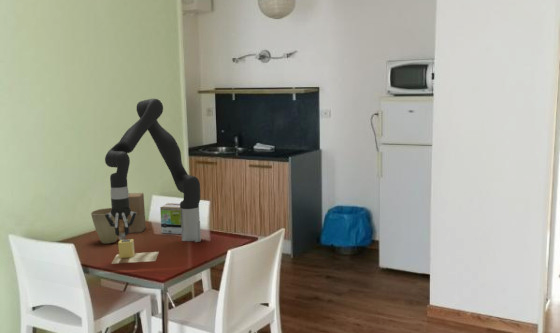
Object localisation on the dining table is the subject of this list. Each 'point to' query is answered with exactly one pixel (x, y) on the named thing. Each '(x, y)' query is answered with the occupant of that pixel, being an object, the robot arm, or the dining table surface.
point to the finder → (126, 248)
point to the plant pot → (104, 225)
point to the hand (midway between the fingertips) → (122, 235)
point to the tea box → (171, 218)
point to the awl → (121, 229)
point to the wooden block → (137, 206)
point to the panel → (137, 258)
